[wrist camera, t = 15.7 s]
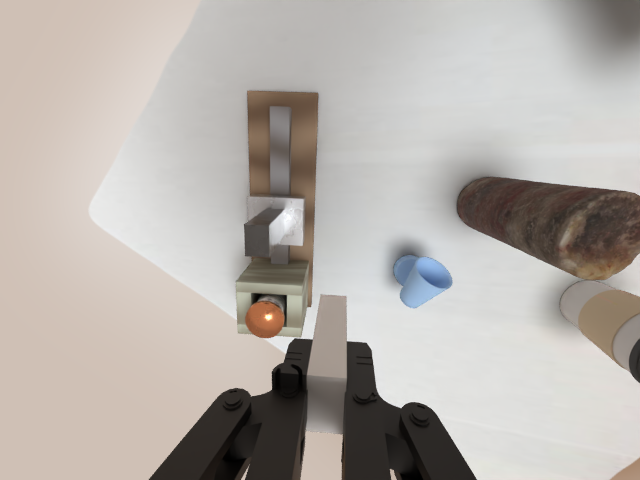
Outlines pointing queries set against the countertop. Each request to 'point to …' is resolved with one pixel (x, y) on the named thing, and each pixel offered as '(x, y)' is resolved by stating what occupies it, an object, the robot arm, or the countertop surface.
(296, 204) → the carriage
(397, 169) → the countertop surface
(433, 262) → the spotlight
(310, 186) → the rail
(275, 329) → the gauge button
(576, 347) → the countertop surface
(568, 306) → the coffee cup
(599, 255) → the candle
